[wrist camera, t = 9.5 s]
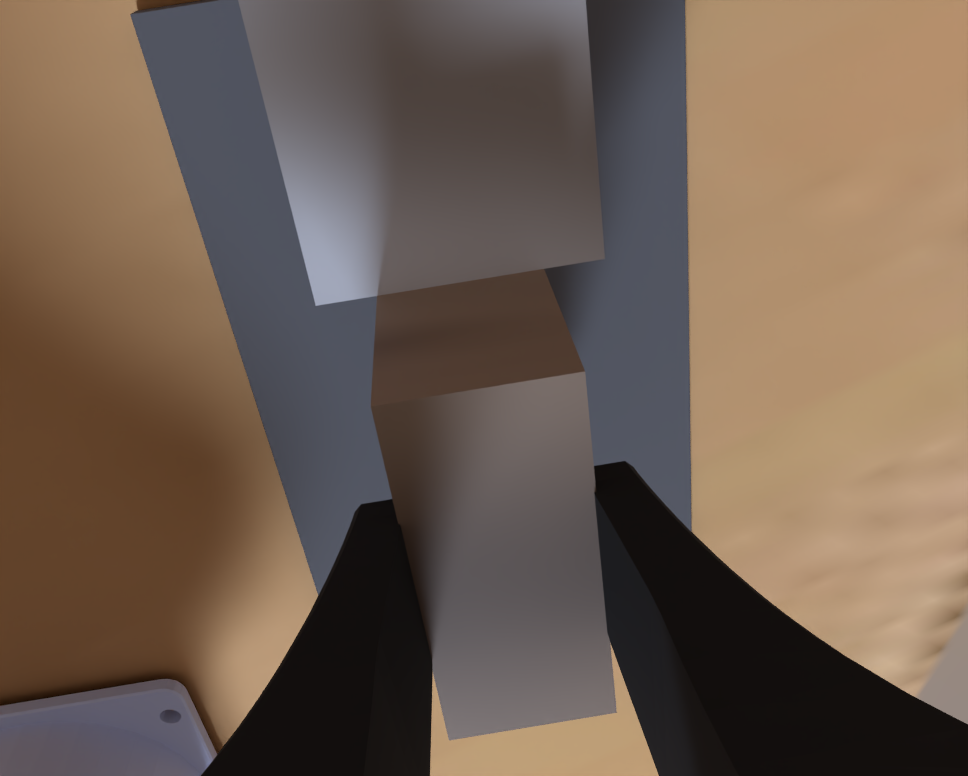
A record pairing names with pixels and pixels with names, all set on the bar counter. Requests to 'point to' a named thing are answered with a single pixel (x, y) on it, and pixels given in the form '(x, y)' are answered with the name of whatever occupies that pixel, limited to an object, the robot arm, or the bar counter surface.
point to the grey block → (462, 313)
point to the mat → (351, 324)
